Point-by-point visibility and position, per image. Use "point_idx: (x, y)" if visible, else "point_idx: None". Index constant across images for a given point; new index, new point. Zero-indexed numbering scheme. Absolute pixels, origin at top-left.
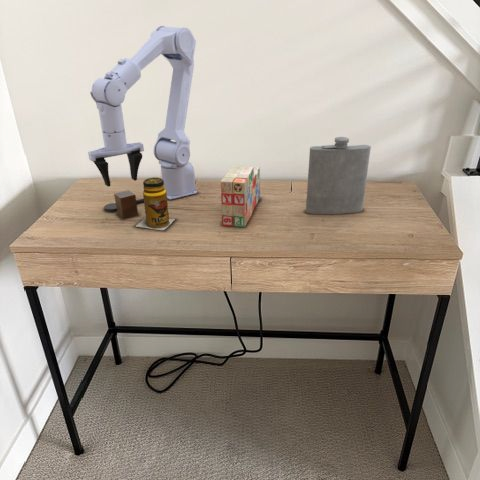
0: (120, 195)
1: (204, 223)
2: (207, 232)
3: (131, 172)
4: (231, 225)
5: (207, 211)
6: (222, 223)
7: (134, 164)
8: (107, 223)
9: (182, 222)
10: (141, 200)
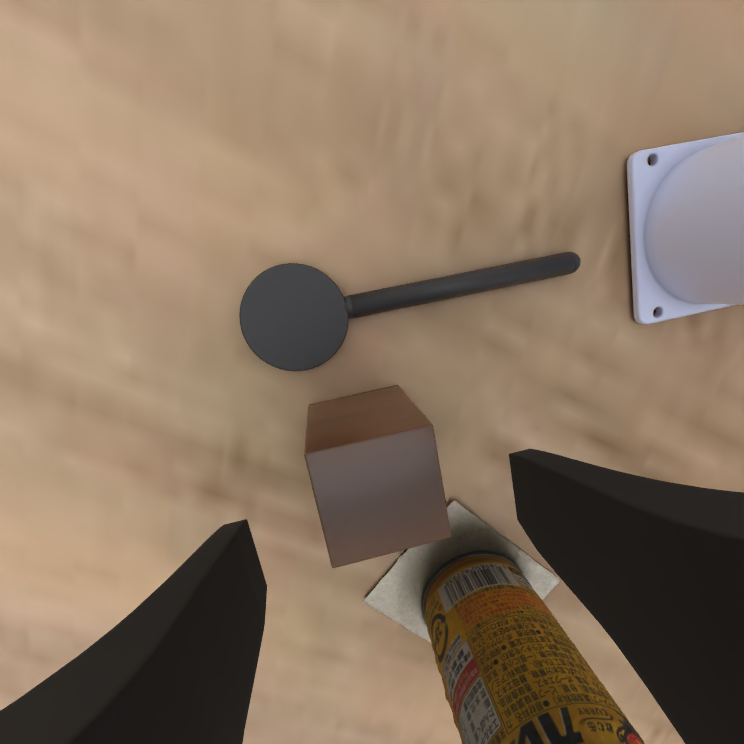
0: (344, 516)
1: None
2: None
3: (549, 497)
4: None
5: None
6: None
7: (665, 711)
8: (234, 511)
9: (574, 609)
10: (488, 289)
